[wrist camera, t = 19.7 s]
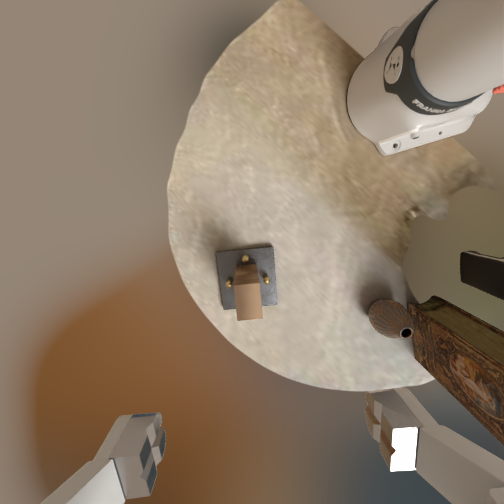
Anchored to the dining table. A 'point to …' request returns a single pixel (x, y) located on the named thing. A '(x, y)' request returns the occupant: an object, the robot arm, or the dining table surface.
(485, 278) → the battery charger
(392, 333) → the vase
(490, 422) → the book
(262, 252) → the pin plate
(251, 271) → the board block
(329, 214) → the dining table surface
